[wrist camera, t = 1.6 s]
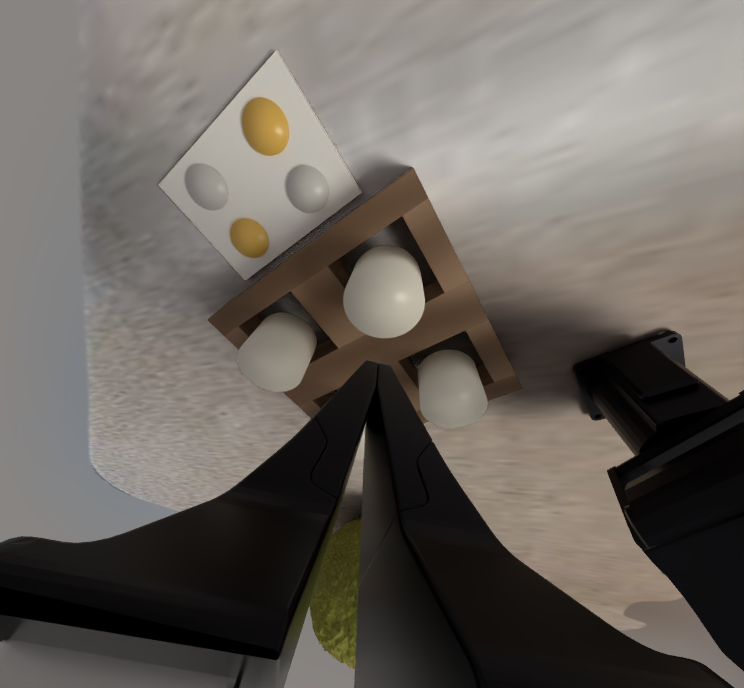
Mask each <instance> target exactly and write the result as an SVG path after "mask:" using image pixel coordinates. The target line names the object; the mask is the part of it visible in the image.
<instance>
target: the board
mask: <svg viewBox="0 0 744 688" xmlns="http://www.w3.org/2000/svg"><path fill="white" fill-rule="evenodd" d="M401 216H403V218H404V220H405V222H406V224H407V225H408V227H409V229H410V231H411V233H412V235H413V236H414V238H415V240H416V242H417V244H418V245H419V247H420V249H421V251H422V253H423V254H424V256H425V258H426V260H427V262H428V263H429V265H430V267H431V269H432V271H433V273H434V274H435V276H436V278H437V280H436V281H435V282H433V283H431V284H429V285H427V286H425V287H424V288H423V290H424V297H425V306H424V311H423V314H422V316H421V318H420V320H419V322H418V323H417V324H416V325H415V326H414V327H413V328H412V329H411V330H410V331H408V332H407V333H405V334H403V335H400V336H397V337H393V338H376V337H372V336H369V335H367V334H365V333H363V332H361V331H360V330H358V329H357V328H356V327H355V326H354V325H353V324H352V323H351V322H350V320H349V319H348V317H347V315H346V312H345V310H344V305H343V296H344V291H345V288H346V286H347V283H348V281H349V279H350V276H351V275H350V274H349V272H348V271H347V269H346V268H345V267H344V265H343V264H342V262H341V261H340V260H339V258H340V257H342V256H343V255H345V254H346V253H348V252H349V251H351V250H352V249H354V248H355V247H357V246H358V245H360V244H361V243H363V242H364V241H366V240H367V239H369V238H370V237H372V236H373V235H375V234H376V233H378V232H379V231H381V230H382V229H383V228H385V227H386V226H388V225H389V224H391V223H392V222H394V221H395V220H397V219H398V218H400V217H401ZM290 291H291V292H292V293H293V295H294V296H295V297H296V298H297V299H298V301H299V302H300V303H301V304H302V305H303V307H304V308H305V309H306V310H307V311H308V313H309V314H310V315H311V316H312V317H313V318H314V320H315V321H316V322H317V323H318V324H319V326H320V327H321V328H322V329H323V330H324V332H325V333H326V334H327V335H328V336H329V338H330V339H329V340H327V341H325V342H323V343H321V344H320V345H318V346H316V349H315V352H314V354H313V356H312V358H311V360H310V363H309V365H308V367H307V369H306V372H305V374H304V376H303V378H302V380H301V382H300V383H299V385H298V386H296V387H295V388H293V389H291V390H289V391H284V393H285V394H286V395H287V396H288V397H289V398H290V399H291V400H292V401H293V402H294V403H295V404H297V405H298V406H299V407H300V408H301V409H302V410H303V411H304V412H305V413H306V414H307V415H308V416H309V417H310V418H311V419H312V418H313V417H314V416H315V414H316V413H317V412H318V411H319V410H320V409H321V408H322V407H323V406H324V405H325V404H326V403H327V401H328V400H329V399H330V398H331V397H332V396H333V394H332V393H331V392H332V391H334V390H336V389H338V388H340V387H341V386H342V385H343V384H344V383H345V382H346V381H347V380H348V379H349V378H350V377H351V376H352V374H353V373H354V372H355V371H356V370H357V369H358V368H359V367H360V366H361V365H362V364H363V363H364V362H365V361H366V360H371V361H375V362H377V363H378V364H379V363H384V364H389V365H391V367H392V368H393V370H394V372H395V374H396V376H397V377H398V379H399V381H400V383H401V385H402V386H403V388H404V390H405V392H406V394H407V395H408V397H409V399H410V401H411V403H412V404H413V406H414V408H415V410H416V412H417V414H418V415H419V417H420V419H421V421H422V423H426V422H428V420H426V419H425V417H424V416H423V415H422V413H421V409H420V397H419V383H418V370H417V368H416V367H415V366H414V364H413V363H412V361H411V360H410V359H409V357H408V356H411V355H413V354H415V353H417V352H419V351H422V350H424V349H426V348H428V347H430V346H432V345H435V344H437V343H439V342H441V341H443V340H446V339H448V338H450V337H452V336H454V335H457V334H459V333H461V332H463V331H465V330H466V332H467V334H468V336H469V338H470V339H471V341H472V343H473V345H474V347H475V348H476V350H477V352H478V354H479V356H480V358H481V359H482V361H483V363H482V364H480V365H477V366H476V368H477V371H478V374H479V377H480V380H481V383H482V385H483V388H484V391H485V394H486V397H487V401H489V400H491V399H494V398H497V397H500V396H503V395H506V394H509V393H511V392H514V391H517V390H520V389H523V388H522V386H521V384H520V382H519V380H518V378H517V376H516V374H515V372H514V370H513V368H512V366H511V364H510V362H509V360H508V358H507V356H506V354H505V352H504V350H503V348H502V346H501V344H500V342H499V340H498V338H497V336H496V334H495V332H494V330H493V328H492V326H491V324H490V322H489V320H488V318H487V316H486V313H485V311H484V309H483V307H482V305H481V303H480V301H479V299H478V297H477V295H476V293H475V291H474V289H473V287H472V285H471V283H470V281H469V279H468V277H467V275H466V273H465V271H464V269H463V267H462V265H461V263H460V261H459V259H458V257H457V255H456V253H455V251H454V249H453V247H452V245H451V243H450V241H449V239H448V237H447V235H446V233H445V231H444V229H443V227H442V225H441V223H440V221H439V219H438V217H437V215H436V213H435V211H434V209H433V207H432V205H431V203H430V200H429V198H428V196H427V194H426V192H425V190H424V188H423V186H422V184H421V182H420V180H419V178H418V176H417V174H416V172H415V170H414V168H413V167H412V168H410V169H409V170H408V171H406V172H405V173H404V174H402V175H401V176H399V177H398V178H397V179H395V180H394V181H393V182H391V183H390V184H389V185H387V186H386V187H385V188H383V189H382V190H380V191H379V192H378V193H376V194H375V195H374V196H372V197H371V198H370V199H368V200H367V201H366V202H364V203H363V204H361V205H360V206H359V207H357V208H356V209H355V210H353V211H352V212H351V213H349V214H348V215H347V216H345V217H344V218H342V219H341V220H340V221H338V222H337V223H336V224H334V225H333V226H332V227H330V228H329V229H328V230H326V231H325V232H323V233H322V234H321V235H319V236H318V237H317V238H315V239H314V240H313V241H311V242H310V243H309V244H307V245H306V246H304V247H303V248H302V249H300V250H299V251H298V252H296V253H295V254H294V255H292V256H291V257H290V258H288V259H287V260H285V261H284V262H283V263H281V264H280V265H279V266H277V267H276V268H275V269H273V270H272V271H271V272H269V273H268V274H266V275H265V276H264V277H262V278H261V279H260V280H258V281H257V282H256V283H254V284H253V285H252V286H250V287H249V288H247V289H246V290H245V291H243V292H242V293H241V294H239V295H238V296H237V297H235V298H234V299H233V300H231V301H230V302H228V303H227V304H226V305H225V306H223V307H222V308H221V309H220V310H219V311H217V312H216V313H215V314H214V315H213V316H211V317H210V318H209V319H208V321H209V322H210V323H211V324H212V325H213V326H214V327H215V328H217V329H218V330H219V331H220V332H221V333H222V334H223V335H224V336H225V337H226V338H227V339H228V340H229V341H230V342H231V343H232V344H233V345H234V346H235V347H237V348H238V349H240V347H241V346H242V345H243V344H244V342H245V341H246V340H247V339H248V338H249V337H250V335H251V334H252V333H253V332H254V331H255V330H256V328H257V327H258V326H259V325H260V324H261V322H262V321H263V320H262V319H261V318H260V317H259V316H258V315H257V313H259V312H260V311H262V310H263V309H265V308H266V307H268V306H269V305H271V304H272V303H274V302H275V301H277V300H278V299H280V298H281V297H283V296H284V295H286V294H287V293H289V292H290Z"/></svg>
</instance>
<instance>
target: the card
mask: <svg viewBox="0 0 744 688" xmlns="http://www.w3.org/2000/svg"><path fill="white" fill-rule="evenodd" d="M159 186H160V187H161V189H162V190H163V191H164V192H165V193H166V194H167V195H168V196H169V197H170V199H171V200H172V201H173V202H174V203H175V204H176V205H177V206H178V207H179V208H180V210H181V211H182V212H183V213H184V214H185V215H186V216H187V217H188V218H189V219H190V221H191V222H192V223H193V224H194V225H195V226H196V227H197V228H198V229H199V230H200V232H201V233H202V234H203V235H204V236H205V237H206V238H207V239H208V240H209V241H210V243H211V244H212V245H213V246H214V247H215V248H216V249H217V250H218V251H219V252H220V254H221V255H222V256H223V257H224V258H225V259H226V260H227V261H228V262H229V264H230V265H231V266H232V267H233V268H234V269H235V270H236V271H237V272H238V273H239V275H240V276H241V277H242V278H243V279H244V280H245V281H246V280H247V279H248V278H250V277H251V276H252V275H254V274H255V273H256V272H257V271H259V270H260V269H261V268H263V267H264V266H265V265H267V264H268V263H269V262H271V261H272V260H273V259H275V258H276V257H277V256H279V255H280V254H281V253H283V252H284V251H285V250H287V249H288V248H289V247H291V246H292V245H293V244H295V243H296V242H297V241H299V240H300V239H301V238H302V237H304V236H305V235H306V234H308V233H309V232H310V231H312V230H313V229H314V228H316V227H317V226H318V225H320V224H321V223H322V222H324V221H325V220H326V219H328V218H329V217H330V216H332V215H333V214H334V213H336V212H337V211H338V210H340V209H341V208H342V207H344V206H345V205H346V204H347V203H349V202H350V201H351V200H353V199H354V198H355V197H357V196H358V195H359V194H361V193H362V191H361V189H360V188H359V186H358V184H357V183H356V181H355V179H354V178H353V176H352V174H351V173H350V171H349V169H348V168H347V166H346V164H345V163H344V161H343V159H342V157H341V156H340V154H339V152H338V151H337V149H336V147H335V146H334V144H333V142H332V141H331V139H330V137H329V136H328V134H327V132H326V131H325V129H324V127H323V126H322V124H321V122H320V121H319V119H318V117H317V116H316V114H315V112H314V110H313V109H312V107H311V105H310V104H309V102H308V100H307V99H306V97H305V95H304V94H303V92H302V90H301V89H300V87H299V85H298V84H297V82H296V80H295V79H294V77H293V75H292V74H291V72H290V70H289V68H288V67H287V65H286V63H285V62H284V60H283V58H282V57H281V55H280V53H279V52H278V51H277V50H276V51H275V52H274V53H273V54H272V56H271V57H270V58H269V59H268V60H267V61H266V62H265V64H264V65H263V66H262V67H261V68H260V69H259V70H258V72H257V73H256V74H255V75H254V76H253V77H252V78H251V80H250V81H249V82H248V83H247V84H246V85H245V86H244V88H243V89H242V90H241V91H240V92H239V93H238V94H237V96H236V97H235V98H234V99H233V100H232V101H231V102H230V104H229V105H228V106H227V107H226V108H225V109H224V110H223V112H222V113H221V114H220V115H219V116H218V117H217V118H216V120H215V121H214V122H213V123H212V124H211V125H210V126H209V128H208V129H207V130H206V131H205V132H204V133H203V134H202V136H201V137H200V138H199V139H198V140H197V141H196V142H195V144H194V145H193V146H192V147H191V148H190V149H189V150H188V152H187V153H186V154H185V155H184V156H183V157H182V158H181V160H180V161H179V162H178V163H177V164H176V165H175V166H174V168H173V169H172V170H171V171H170V172H169V173H168V174H167V176H166V177H165V178H164V179H163V180H162V181H161V182H160V184H159Z"/></svg>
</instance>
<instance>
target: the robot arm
mask: <svg viewBox="0 0 744 688" xmlns="http://www.w3.org/2000/svg"><path fill="white" fill-rule="evenodd" d="M670 338H671V339H670ZM581 369H582V370H581ZM572 371H573V373H574V376H575V379H576V382H577V384H578V387H579V390H580V393H581V395H582V398H583V401H584V403H585V406H586V409H587V412H588V414H589V416H590V417H591V419H592V420H596V421H597V420H601V419H605V418H606V419H607V420H608V422H609V423H610V424H611V425H612V427H613V428H614V429H615V431H616V432H617V433H618V434H619V436H620V437H621V438H622V440H623V441H624V442H625V443H626V445H627V446H628V447H629V449H630V450H631V451H632V452H633V454H634V455H635V456H634V457H633V458H631V459H629V460H627V461H626V462H624V463H622V464H621V465H619V466H617V467H615V466H614V467H612V468H610V469H609V470H607V473H608V475H609V478H610V481H611V483H612V486H613V488H614V491H615V494H616V496H617V499H618V501H619V504H620V507H621V509H622V512H623V514H624V517H625V520H626V522H627V525H628V527H629V529H630V532H631V534H632V537H633V539H634V541H635V542H636V544H637V545H638V546H639V547H640V548H641V549H642V550H643V551H644V553H645V554H646V555H647V556H648V557H649V559H650V560H651V561H652V562H653V563H654V564H655V565H656V566H657V567H658V568H659V569H660V570H661V571H662V572H663V573H664V574H665V575H666V576H667V577H668V578H669V579H670V581H671V582H672V583H673V584H674V585H675V587H676V588H677V589H678V590H679V592H680V593H681V594H682V595H683V597H684V598H685V599H686V601H687V602H688V603H689V605H690V606H691V608H692V609H693V610H694V612H695V613H696V615H697V616H698V617H699V619H700V620H701V622H702V623H703V625H704V626H705V628H706V629H707V631H708V632H709V634H710V635H711V637H712V638H713V640H714V641H715V642H716V644H717V645H718V647H719V648H720V649H721V651H722V652H723V653H724V654H725V655H726V656H727V657H728V658H729V659H731V660H732V661H733V662H734V663H735V664H736V665H737V666H738V667H739V668H741V669H742V670H743V671H744V390H743V391H741V392H740V393H739V394H740V395H739V396H737V397H735V398H734V399H732V400H728V399H727V398H726V397H724V396H723V395H722V394H720V393H719V392H718V391H716V390H715V389H714V388H712V387H711V386H710V385H708V384H707V383H706V382H704V381H703V380H702V379H700V378H699V377H698V376H696V375H695V374H693V373H692V372H691V371H689V370H688V369H687V368H685V359H684V351H683V342H682V336H681V335H680V334H678V333H677V332H675V331H668V332H665V333H662V334H659V335H656V336H654V337H651V338H648V339H645V340H642V341H640V342H637V343H634V344H631V345H628V346H626V347H623V348H620V349H617V350H614V351H612V352H609V353H606V354H603V355H600V356H598V357H595V358H592V359H589V360H586V361H583V362H581V363H578V364H576V365H575V366H573V368H572ZM365 424H366V426H365ZM364 428H365V444H364V468H363V492H362V516H361V540H360V563H359V588H358V610H357V634H356V658H355V682H354V683H355V684H354V688H734V687H733V686H731V685H730V684H729V683H728V682H726V681H725V680H724V679H722V678H721V677H720V676H718V675H717V674H716V673H715V672H713V671H712V670H711V669H709V668H708V667H707V666H705V665H704V664H702V663H700V662H697V661H695V660H691V659H687V658H683V657H677V656H672V655H667V654H664V653H660V652H657V651H655V650H652V649H651V648H648V647H646V646H644V645H642V644H640V643H638V642H636V641H635V640H633V639H631V638H629V637H628V636H626V635H624V634H623V633H621V632H619V631H618V630H617V629H615V628H614V627H612V626H611V625H609V624H608V623H607V622H605V621H604V620H602V619H601V618H600V617H598V616H597V615H595V614H594V613H593V612H591V611H590V610H588V609H587V608H586V607H584V606H583V605H581V604H580V603H579V602H577V601H576V600H574V599H573V598H572V597H570V596H569V595H567V594H566V593H565V592H563V591H562V590H560V589H559V588H557V587H556V586H555V585H553V584H552V583H550V582H549V581H548V580H546V579H545V578H543V577H542V576H541V575H539V574H538V573H536V572H535V571H534V570H532V569H531V568H529V567H528V566H527V565H525V564H524V563H522V562H521V561H520V560H518V559H517V558H516V557H515V556H513V555H512V554H511V553H510V552H509V551H508V550H507V549H506V548H505V547H504V546H503V545H502V544H501V542H500V541H499V540H498V539H497V538H496V536H495V535H494V534H493V532H492V531H491V530H490V528H489V527H488V525H487V524H486V522H485V521H484V520H483V518H482V517H481V515H480V514H479V512H478V511H477V510H476V508H475V507H474V505H473V504H472V502H471V501H470V499H469V498H468V497H467V495H466V494H465V492H464V491H463V489H462V488H461V486H460V485H459V483H458V482H457V480H456V479H455V477H454V476H453V474H452V473H451V471H450V470H449V468H448V467H447V465H446V463H445V462H444V460H443V458H442V457H441V455H440V453H439V451H438V450H437V448H436V446H435V444H434V442H432V439H431V437H430V435H429V433H428V432H427V430H426V428H425V426H424V424H423V423H422V421H421V419H420V417H419V415H418V414H417V412H416V410H415V408H414V406H413V404H412V403H411V401H410V399H409V397H408V395H407V394H406V392H405V390H404V388H403V386H402V385H401V383H400V381H399V379H398V377H397V376H396V374H395V372H394V370H393V368H392V367H391V365H389V364H384V363H379V364H378V363H377V362H375V361H371V360H366V361H365V362H364V363H363V364H362V365H361V366H360V367H359V368H358V369H357V370H356V371H355V372H354V373H353V374H352V376H351V377H350V378H349V379H348V380H347V381H346V382H345V383H344V384H343V385H342V386H341V387H340V389H339V390H338V391H337V392H336V393H335V394H334V395H333V396H332V397H331V398H330V399H329V400H328V401H327V403H326V404H325V405H324V406H323V407H322V408H321V409H320V410H319V411H318V412H317V413H316V414H315V416H314V417H313V418H312V419H311V420H310V421H309V422H308V423H307V424H306V425H305V426H304V427H303V428H302V429H301V430H300V431H299V432H298V433H297V434H296V435H295V436H294V437H293V438H292V439H291V440H290V441H288V442H287V443H286V444H285V445H284V446H283V447H282V448H280V449H279V450H278V451H277V452H276V453H275V454H273V455H272V456H271V457H270V458H268V459H267V460H266V461H265V462H264V463H262V464H261V465H260V466H259V467H258V468H256V469H255V470H254V471H253V472H252V473H250V474H249V475H248V476H247V477H246V478H244V479H243V480H242V481H241V482H239V483H238V484H237V485H236V486H234V487H233V488H231V489H230V490H229V491H227V492H225V493H224V494H222V495H220V496H218V497H216V498H214V499H212V500H210V501H207V502H205V503H202V504H199V505H197V506H194V507H192V508H189V509H186V510H184V511H181V512H178V513H176V514H173V515H171V516H168V517H165V518H163V519H160V520H157V521H155V522H152V523H150V524H147V525H144V526H142V527H139V528H136V529H134V530H131V531H129V532H126V533H123V534H120V535H117V536H114V537H111V538H107V539H102V540H97V541H92V542H81V543H70V542H61V541H55V540H50V539H45V538H38V537H23V536H21V537H17V538H11V539H8V540H6V541H3V542H1V543H0V642H1V643H0V688H284V685H285V681H286V678H287V675H288V671H289V669H290V665H291V662H292V659H293V656H294V653H295V649H296V646H297V643H298V640H299V636H300V633H301V630H302V627H303V624H304V620H305V617H306V614H307V611H308V608H309V604H310V601H311V598H312V595H313V592H314V588H315V585H316V582H317V578H318V576H319V572H320V569H321V566H322V563H323V560H324V556H325V553H326V550H327V547H328V544H329V540H330V537H331V534H332V531H333V527H334V524H335V521H336V518H337V515H338V511H339V508H340V505H341V502H342V499H343V495H344V492H345V489H346V486H347V483H348V479H349V476H350V473H351V470H352V467H353V463H354V460H355V457H356V454H357V451H358V447H359V444H360V441H361V438H362V435H363V431H364Z"/></svg>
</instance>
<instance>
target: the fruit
mask: <svg viewBox="0 0 744 688" xmlns="http://www.w3.org/2000/svg"><path fill="white" fill-rule="evenodd" d="M360 540H361V517H360V518H359V519H358V520H356V519H354V520H353V521H351V522H349V523H347V524H343V526H342V527H341V529H340V530H338V531H336V532H335V533H333V534H332V535H331V537H330V540H329V544H328V547H327V550H326V553H325V556H324V560H323V563H322V566H321V569H320V572H319V576H318V578H317V582H316V585H315V588H314V592H313V595H312V598H311V601H310V605H309V606H310V611H311V617H312V622H313V629H314V632H315V635H316V637H317V639H318V640H319V642H320V644H322V646H323V648H324V650H325V651H326V650H327V651H328V653H329V654H331V655H332V656H333V657H334V658H336V659H337V660H338V661H340V662H341V663H346V664H347V665H348V666H349V668H354V669H355V658H356V634H357V610H358V588H359V563H360Z"/></svg>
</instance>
